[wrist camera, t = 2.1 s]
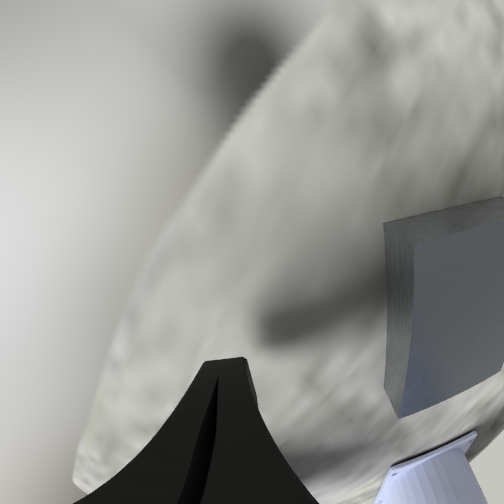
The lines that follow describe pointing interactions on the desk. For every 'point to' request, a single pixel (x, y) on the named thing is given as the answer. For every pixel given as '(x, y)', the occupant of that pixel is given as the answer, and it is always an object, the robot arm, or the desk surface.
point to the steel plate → (443, 303)
